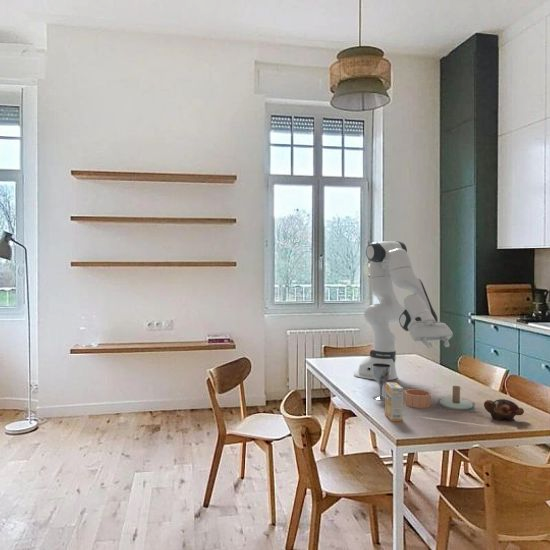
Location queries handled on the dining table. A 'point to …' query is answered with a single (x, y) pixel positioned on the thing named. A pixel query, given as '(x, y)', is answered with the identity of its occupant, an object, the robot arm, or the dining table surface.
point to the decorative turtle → (503, 409)
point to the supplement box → (394, 401)
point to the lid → (456, 401)
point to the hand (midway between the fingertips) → (439, 346)
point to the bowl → (417, 398)
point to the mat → (455, 409)
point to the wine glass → (381, 376)
